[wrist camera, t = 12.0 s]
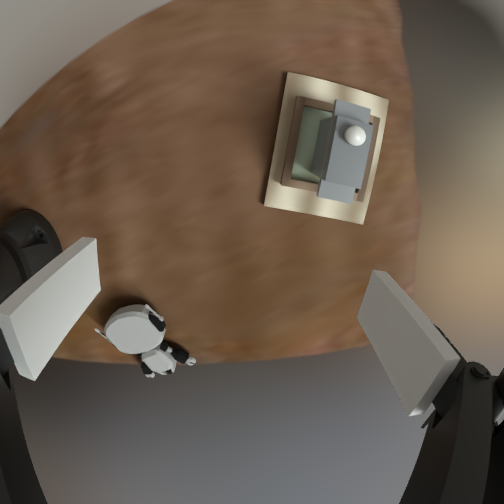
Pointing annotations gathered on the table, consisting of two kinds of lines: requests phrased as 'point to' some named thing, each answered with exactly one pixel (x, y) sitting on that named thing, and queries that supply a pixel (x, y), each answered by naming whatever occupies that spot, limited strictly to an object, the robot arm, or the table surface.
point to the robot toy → (144, 339)
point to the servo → (342, 151)
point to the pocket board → (303, 147)
